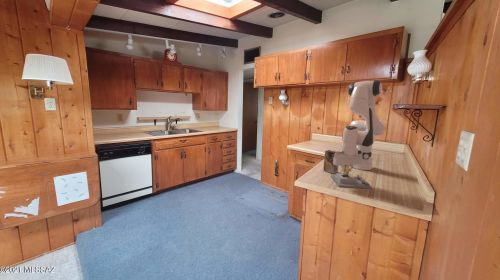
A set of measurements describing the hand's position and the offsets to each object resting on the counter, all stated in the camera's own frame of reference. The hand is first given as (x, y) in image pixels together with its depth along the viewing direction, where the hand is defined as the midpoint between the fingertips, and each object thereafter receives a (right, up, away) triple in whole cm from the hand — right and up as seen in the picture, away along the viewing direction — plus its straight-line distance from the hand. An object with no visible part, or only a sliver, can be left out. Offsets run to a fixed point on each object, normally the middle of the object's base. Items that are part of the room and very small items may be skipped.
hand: (346, 171), depth 139 cm
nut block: (+3, -8, +1) cm, 8 cm away
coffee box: (-2, -4, +22) cm, 23 cm away
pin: (0, -6, +1) cm, 6 cm away
